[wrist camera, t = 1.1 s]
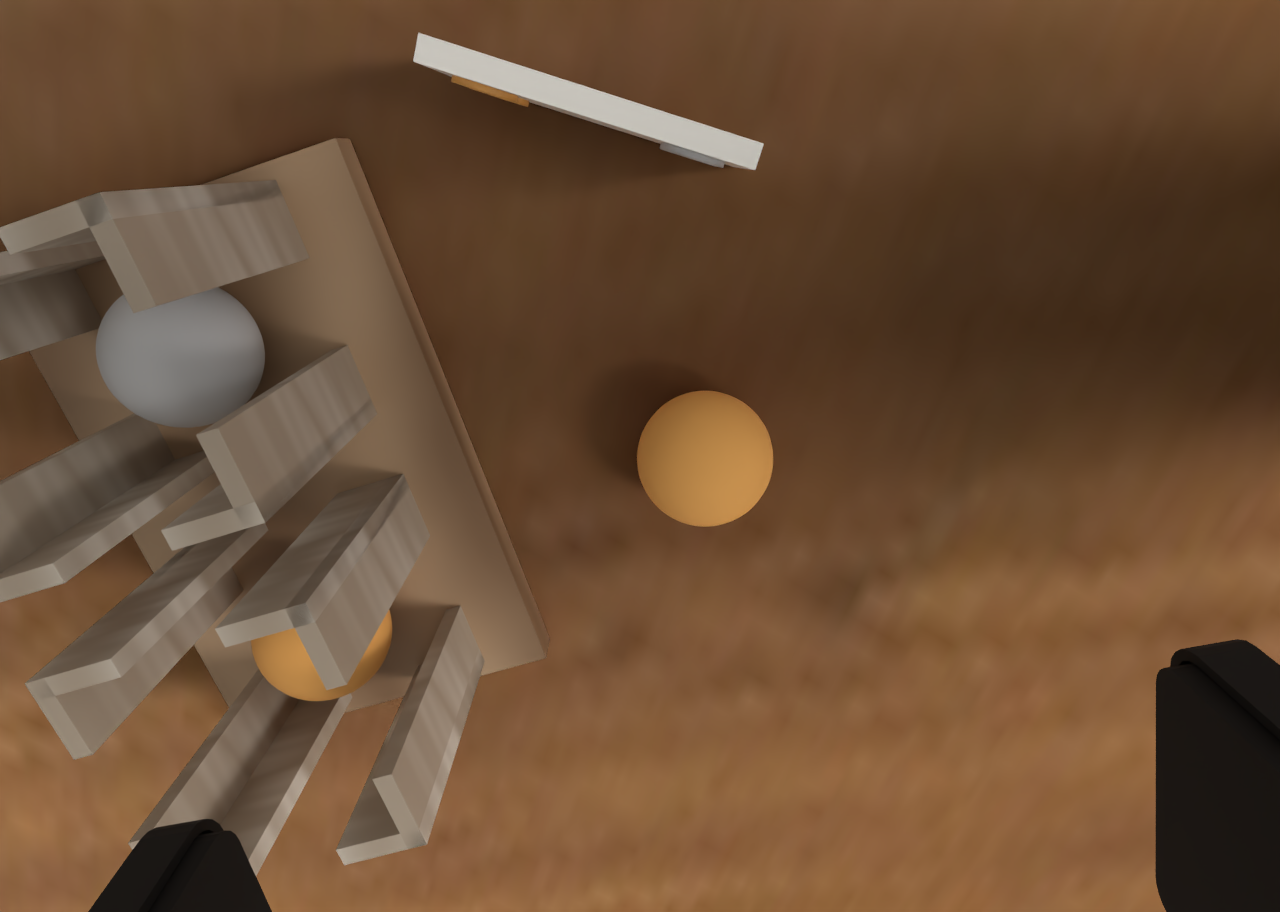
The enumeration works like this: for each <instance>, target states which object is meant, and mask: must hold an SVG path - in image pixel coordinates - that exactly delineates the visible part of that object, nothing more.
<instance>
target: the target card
mask: <svg viewBox="0 0 1280 912" xmlns="http://www.w3.org/2000/svg"><path fill="white" fill-rule="evenodd" d="M413 62H415V63H418V64H420V65H423V66H425V67H428V68H430V69H433V70H436V71H438V72H441V73H443V74H446V75H448V76H451V77H452V79H451V82H453V83H456V84H459V85H462V86H465V87H468V88H469V89H472V90H475V91H478V92H481V93H484V94H487V95H490V96H493V97H496V98H500V99H503V100H506V101H509V102H512V103H515V104H519V105H522V106H525V107H528V105H529V102H530V103H533V104H536V105H540V106H543V107H546V108H549V109H552V110H555V111H558V112H562V113H565V114H568V115H571V116H574V117H577V118H581V119H584V120H587V121H590V122H593V123H596V124H599V125H603V126H606V127H609V128H612V129H615V130H618V131H621V132H625V133H628V134H631V135H634V136H637V137H640V138H643V139H647V140H650V141H653V142H656V143H659V144H661V145H660V148H659V149H661V150H664V151H667V152H670V153H673V154H676V155H679V156H683V157H686V158H689V159H692V160H695V161H698V162H702V163H705V164H708V165H711V166H715V167H721V168H723V167H724V164H725V165H729V166H732V167H736V168H743V169H749V170H755V169H756V166H757V163H758V160H759V157H760V154H761V151H762V148H763V145H764V144H763V143H760V142H757V141H754V140H751V139H748V138H745V137H742V136H738V135H735V134H732V133H729V132H726V131H723V130H720V129H717V128H713V127H710V126H707V125H704V124H701V123H698V122H695V121H692V120H689V119H685V118H682V117H679V116H676V115H673V114H670V113H667V112H664V111H661V110H657V109H654V108H651V107H648V106H645V105H642V104H639V103H636V102H633V101H629V100H626V99H623V98H620V97H617V96H614V95H611V94H608V93H605V92H601V91H598V90H595V89H592V88H589V87H586V86H583V85H580V84H577V83H573V82H570V81H567V80H564V79H561V78H558V77H555V76H552V75H549V74H545V73H542V72H539V71H536V70H533V69H530V68H527V67H524V66H521V65H517V64H514V63H511V62H508V61H505V60H502V59H499V58H496V57H493V56H489V55H486V54H483V53H480V52H477V51H474V50H471V49H468V48H465V47H461V46H458V45H455V44H452V43H449V42H446V41H443V40H440V39H437V38H433V37H430V36H427V35H424V34H421V33H418V38H417V43H416V49H415V54H414V59H413Z"/></svg>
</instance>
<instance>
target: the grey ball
mask: <svg viewBox="0 0 1280 912" xmlns="http://www.w3.org/2000/svg"><path fill="white" fill-rule="evenodd" d="M96 358H97V363H98V367H99V370H100V373H101V376H102V378H103V380H104V382H105V384H106V385H107V387H108V389H109V390H110V391H111V393H112V394H113V395H114V396H115V397H116V398H117V399H118V400H119V402H120V403H122V404H123V405H124V406H125V407H126V408H128V409H129V410H130V411H132V412H133V413H135V414H136V415H138V416H140V417H142V418H144V419H146V420H149V421H151V422H154V423H157V424H161V425H165V426H170V427H184V428H191V427H200V426H205V425H209V424H213V423H216V422H217V421H219V420H221V419H222V418H224V417H225V416H227V415H229V414H230V413H232V412H233V411H235V410H237V409H238V408H240V407H241V406H243V405H245V404H246V403H247V402H248V400H249V399H250V398H251V397H252V395H253V394H254V392H255V391H256V389H257V387H258V385H259V383H260V381H261V378H262V374H263V370H264V364H265V349H264V343H263V339H262V336H261V333H260V331H259V328H258V326H257V324H256V322H255V320H254V319H253V317H252V316H251V314H250V313H249V312H248V311H247V309H246V308H245V307H244V306H243V305H242V304H241V303H240V302H239V301H238V300H237V299H236V298H234V297H233V296H232V295H230V294H229V293H227V292H226V291H224V290H222V289H220V288H218V287H217V288H213V289H210V290H207V291H204V292H201V293H197V294H194V295H191V296H188V297H185V298H181V299H178V300H175V301H172V302H169V303H165V304H162V305H159V306H156V307H152V308H149V309H146V310H143V311H140V312H136V313H133V311H132V309H131V307H130V306H129V304H128V302H127V300H126V298H125V296H124V294H123V295H122V296H121V297H120V298H118V299H117V300H116V301H115V302H114V303H113V305H112V306H111V307H110V308H109V309H108V311H107V312H106V314H105V316H104V317H103V319H102V321H101V324H100V326H99V330H98V334H97V338H96Z"/></svg>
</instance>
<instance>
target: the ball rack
mask: <svg viewBox="0 0 1280 912" xmlns="http://www.w3.org/2000/svg"><path fill="white" fill-rule="evenodd" d="M0 238H1V239H2V241H3V243H4V245H5V247H6V248H7V250H8V251H4V252H0V360H2V359H6V358H9V357H12V356H15V355H18V354H21V353H24V352H27V351H29V352H30V354H31V356H32V358H33V359H34V361H35V363H36V365H37V366H38V368H39V370H40V372H41V374H42V375H43V377H44V379H45V381H46V382H47V384H48V386H49V388H50V390H51V391H52V393H53V395H54V397H55V399H56V400H57V402H58V404H59V406H60V407H61V409H62V411H63V413H64V415H65V416H66V418H67V420H68V422H69V423H70V425H71V427H72V429H73V431H74V432H75V434H76V436H77V438H78V439H79V441H78V442H76V443H74V444H72V445H70V446H68V447H66V448H64V449H62V450H60V451H59V452H57V453H55V454H53V455H51V456H49V457H47V458H45V459H43V460H41V461H39V462H37V463H35V464H33V465H31V466H29V467H27V468H25V469H23V470H21V471H19V472H17V473H15V474H13V475H11V476H9V477H7V478H5V479H3V480H1V481H0V602H3V601H7V600H10V599H13V598H17V597H20V596H23V595H27V594H30V593H33V592H37V591H40V590H43V589H47V588H50V587H53V586H57V585H60V584H63V583H66V582H67V581H68V580H70V579H71V578H72V577H74V576H75V575H76V574H78V573H79V572H80V571H82V570H83V569H84V568H86V567H87V566H89V565H90V564H91V563H93V562H94V561H95V560H97V559H98V558H99V557H101V556H102V555H103V554H105V553H106V552H107V551H109V550H110V549H111V548H113V547H114V546H116V545H117V544H118V543H120V542H121V541H122V540H124V539H125V538H126V537H128V536H129V535H130V534H132V536H133V537H134V539H135V541H136V543H137V545H138V546H139V548H140V550H141V552H142V553H143V555H144V557H145V559H146V561H147V562H148V564H149V566H150V568H151V570H152V571H153V573H154V574H152V575H151V576H150V577H149V578H148V579H147V580H145V581H144V582H143V583H142V584H141V585H139V586H138V587H137V588H136V589H135V590H134V591H132V592H131V593H130V594H129V595H128V596H127V597H125V598H124V599H123V600H122V601H121V602H120V603H118V604H117V605H116V606H115V607H114V608H113V609H111V610H110V611H109V612H108V613H107V614H106V615H104V616H103V617H102V618H101V619H100V620H98V621H97V622H96V623H95V624H94V625H93V626H91V627H90V628H89V629H88V630H87V631H86V632H84V633H83V634H82V635H81V636H80V637H79V638H77V639H76V640H75V641H74V642H73V643H72V644H70V645H69V646H68V647H67V648H66V649H65V650H63V651H62V652H61V653H60V654H59V655H58V656H56V657H55V658H54V659H53V660H52V661H50V662H49V663H48V664H47V665H46V666H45V667H43V668H42V669H41V670H40V671H39V672H38V673H36V674H35V675H34V676H33V677H32V678H31V679H29V680H28V681H27V682H26V683H25V685H26V687H27V688H28V690H29V691H30V693H31V694H32V696H33V697H34V699H35V700H36V702H37V704H38V705H39V707H40V708H41V710H42V711H43V713H44V714H45V716H46V717H47V719H48V721H49V722H50V724H51V725H52V727H53V728H54V730H55V731H56V733H57V734H58V736H59V737H60V739H61V741H62V742H63V744H64V745H65V747H66V748H67V750H68V751H69V753H70V754H71V756H72V758H73V759H74V760H75V759H78V758H82V757H86V756H89V755H93V754H94V753H95V752H96V751H97V749H98V748H99V747H100V746H101V745H102V744H103V743H104V742H105V741H106V740H107V739H108V737H109V736H110V735H111V734H112V733H113V732H114V731H115V730H116V729H117V728H118V727H119V725H120V724H121V723H122V722H123V721H124V720H125V719H126V718H127V717H128V716H129V715H130V714H131V712H132V711H133V710H134V709H135V708H136V707H137V706H138V705H139V704H140V703H141V702H142V700H143V699H144V698H145V697H146V696H147V695H148V694H149V693H150V692H151V691H152V690H153V688H154V687H155V686H156V685H157V684H158V683H159V682H160V681H161V680H162V679H163V678H164V677H165V675H166V674H167V673H168V672H169V671H170V670H171V669H172V668H173V667H174V666H175V665H176V663H177V662H178V661H179V660H180V659H181V658H182V657H183V656H184V655H185V654H186V653H187V651H188V650H189V649H190V648H191V647H192V646H193V645H194V646H195V648H196V650H197V651H198V653H199V655H200V657H201V659H202V660H203V662H204V664H205V666H206V667H207V669H208V671H209V673H210V675H211V676H212V678H213V680H214V682H215V684H216V685H217V687H218V689H219V691H220V692H221V694H222V696H223V698H224V700H225V701H226V703H227V705H228V707H229V709H228V711H227V712H226V713H225V715H224V716H223V717H222V719H221V720H220V721H219V723H218V724H217V725H216V727H215V728H214V729H213V731H212V732H211V733H210V735H209V736H208V737H207V739H206V740H205V741H204V743H203V744H202V745H201V747H200V748H199V749H198V751H197V752H196V753H195V755H194V756H193V757H192V759H191V760H190V761H189V763H188V764H187V765H186V767H185V768H184V769H183V771H182V772H181V773H180V775H179V776H178V777H177V779H176V780H175V781H174V783H173V784H172V785H171V787H170V788H169V789H168V791H167V792H166V793H165V795H164V796H163V797H162V799H161V800H160V801H159V803H158V804H157V805H156V807H155V808H154V809H153V811H152V812H151V813H150V815H149V816H148V817H147V819H146V820H145V821H144V823H143V824H142V825H141V827H140V828H139V829H138V831H137V832H136V833H135V835H134V836H133V837H132V839H131V840H130V841H129V843H128V844H129V845H130V847H131V848H132V850H133V849H134V847H135V846H136V845H137V843H138V842H139V840H140V839H141V838H142V837H143V836H144V835H145V834H146V833H147V832H148V831H150V830H152V829H154V828H156V827H161V826H167V825H173V824H179V823H184V822H190V821H196V820H202V819H213V820H215V821H216V822H218V823H219V824H220V825H221V827H222V828H223V830H224V831H225V830H226V831H232V832H233V833H235V834H236V836H237V837H238V839H239V840H240V842H241V845H242V847H243V849H244V851H245V854H246V856H247V858H248V860H249V862H250V865H251V867H252V869H253V871H254V873H255V876H257V874H258V872H259V870H260V868H261V866H262V864H263V863H264V861H265V859H266V857H267V855H268V853H269V851H270V850H271V848H272V846H273V844H274V842H275V840H276V838H277V836H278V835H279V833H280V831H281V829H282V827H283V825H284V823H285V822H286V820H287V818H288V816H289V814H290V812H291V810H292V809H293V807H294V805H295V803H296V801H297V799H298V797H299V796H300V794H301V792H302V790H303V788H304V786H305V784H306V783H307V781H308V779H309V777H310V775H311V773H312V771H313V770H314V768H315V766H316V764H317V762H318V760H319V758H320V757H321V755H322V753H323V751H324V749H325V747H326V745H327V744H328V742H329V740H330V738H331V736H332V734H333V732H334V731H335V729H336V727H337V725H338V723H339V721H340V719H341V718H342V716H343V714H344V713H346V712H350V711H353V710H357V709H361V708H364V707H368V706H372V705H375V704H379V703H383V702H386V701H390V700H394V699H398V698H401V697H404V698H403V700H402V702H401V705H400V707H399V709H398V711H397V714H396V716H395V718H394V720H393V723H392V725H391V727H390V729H389V732H388V734H387V736H386V738H385V741H384V743H383V745H382V747H381V750H380V752H379V754H378V757H377V759H376V761H375V763H374V766H373V768H372V770H371V772H370V775H369V777H368V779H367V781H366V784H365V786H364V788H363V790H362V793H361V795H360V797H359V799H358V802H357V804H356V806H355V808H354V811H353V813H352V815H351V817H350V820H349V822H348V824H347V826H346V829H345V831H344V833H343V835H342V838H341V840H340V842H339V844H338V847H337V849H336V851H337V853H338V854H339V856H340V858H341V860H342V862H343V863H344V865H347V864H351V863H355V862H359V861H363V860H367V859H371V858H375V857H379V856H383V855H387V854H391V853H395V852H399V851H403V850H407V849H411V848H415V847H419V846H423V845H427V842H428V839H429V836H430V833H431V830H432V827H433V823H434V820H435V817H436V814H437V811H438V808H439V804H440V801H441V798H442V795H443V792H444V789H445V785H446V782H447V779H448V776H449V773H450V770H451V766H452V763H453V760H454V757H455V754H456V751H457V747H458V744H459V741H460V738H461V735H462V732H463V728H464V725H465V722H466V719H467V716H468V713H469V709H470V706H471V703H472V700H473V697H474V694H475V690H476V687H477V684H478V681H479V678H480V676H482V675H486V674H490V673H493V672H497V671H501V670H504V669H508V668H512V667H515V666H519V665H523V664H526V663H530V662H534V661H538V660H541V659H545V658H546V657H547V652H548V647H549V642H550V637H549V635H548V632H547V630H546V627H545V625H544V622H543V620H542V617H541V615H540V612H539V610H538V607H537V605H536V602H535V600H534V597H533V595H532V592H531V590H530V587H529V585H528V582H527V580H526V577H525V575H524V572H523V570H522V567H521V565H520V562H519V560H518V557H517V555H516V552H515V550H514V547H513V545H512V542H511V540H510V537H509V535H508V532H507V530H506V527H505V525H504V522H503V520H502V517H501V515H500V512H499V510H498V507H497V505H496V502H495V500H494V497H493V495H492V492H491V490H490V488H489V485H488V483H487V480H486V478H485V475H484V473H483V470H482V468H481V465H480V463H479V460H478V458H477V455H476V453H475V450H474V448H473V445H472V443H471V440H470V438H469V435H468V433H467V430H466V428H465V425H464V423H463V420H462V418H461V415H460V413H459V410H458V408H457V405H456V403H455V400H454V398H453V395H452V393H451V390H450V388H449V385H448V383H447V380H446V378H445V375H444V373H443V370H442V368H441V365H440V363H439V360H438V358H437V355H436V353H435V350H434V348H433V345H432V343H431V340H430V338H429V335H428V333H427V330H426V328H425V325H424V323H423V320H422V318H421V315H420V313H419V310H418V308H417V305H416V303H415V300H414V298H413V295H412V293H411V290H410V288H409V285H408V283H407V280H406V278H405V275H404V273H403V270H402V268H401V265H400V263H399V260H398V258H397V255H396V253H395V250H394V248H393V245H392V243H391V240H390V238H389V235H388V233H387V230H386V228H385V225H384V223H383V220H382V218H381V215H380V213H379V210H378V208H377V205H376V203H375V200H374V198H373V195H372V193H371V190H370V188H369V185H368V183H367V180H366V178H365V175H364V173H363V170H362V168H361V165H360V163H359V160H358V158H357V155H356V153H355V150H354V148H353V145H352V143H351V140H350V139H347V138H334V139H331V140H328V141H325V142H322V143H319V144H316V145H313V146H311V147H308V148H305V149H302V150H299V151H296V152H293V153H291V154H288V155H285V156H282V157H279V158H276V159H273V160H270V161H268V162H265V163H262V164H259V165H256V166H253V167H250V168H248V169H245V170H242V171H239V172H236V173H233V174H230V175H227V176H225V177H222V178H219V179H216V180H213V181H210V182H207V183H205V184H202V185H195V186H181V187H167V188H152V189H138V190H124V191H110V192H99V193H96V194H93V195H90V196H87V197H85V198H82V199H79V200H76V201H73V202H70V203H68V204H65V205H62V206H59V207H56V208H53V209H51V210H48V211H45V212H42V213H39V214H36V215H34V216H31V217H28V218H25V219H22V220H19V221H17V222H14V223H11V224H8V225H5V226H2V227H0ZM217 287H218V288H220V289H222V290H224V291H226V292H227V293H229V294H230V295H232V296H233V297H234V298H236V299H237V300H238V301H239V302H240V303H241V304H242V305H243V306H244V307H245V308H246V309H247V311H248V312H249V313H250V314H251V316H252V317H253V319H254V320H255V322H256V324H257V326H258V328H259V331H260V333H261V336H262V339H263V343H264V349H265V364H264V370H263V374H262V378H261V381H260V383H259V385H258V387H257V389H256V391H255V392H254V394H253V395H252V397H251V398H250V399H249V400H248V402H247V403H246V404H245V405H243V406H241V407H240V408H238V409H237V410H235V411H233V412H232V413H230V414H229V415H227V416H225V417H224V418H222V419H221V420H219V421H217V422H216V423H213V424H209V425H205V426H200V427H191V428H184V427H170V426H165V425H161V424H157V423H154V422H151V421H149V420H146V419H144V418H142V417H140V416H138V415H136V414H135V413H133V412H132V411H130V410H129V409H128V408H126V407H125V406H124V405H123V404H122V403H120V402H119V400H118V399H117V398H116V397H115V396H114V395H113V394H112V393H111V391H110V390H109V389H108V387H107V385H106V384H105V382H104V380H103V378H102V376H101V373H100V370H99V367H98V363H97V358H96V338H97V334H98V330H99V326H100V324H101V321H102V319H103V317H104V316H105V314H106V312H107V311H108V309H109V308H110V307H111V306H112V305H113V303H114V302H115V301H116V300H117V299H118V298H120V297H121V296H122V295H123V294H124V296H125V298H126V300H127V302H128V304H129V306H130V307H131V309H132V311H133V313H136V312H140V311H143V310H146V309H149V308H152V307H156V306H159V305H162V304H165V303H169V302H172V301H175V300H178V299H181V298H185V297H188V296H191V295H194V294H197V293H201V292H204V291H207V290H210V289H213V288H217ZM388 610H390V614H391V619H392V638H391V644H390V648H389V650H388V653H387V655H386V658H385V660H384V662H383V663H382V665H381V667H380V668H379V670H378V671H377V672H376V673H375V675H374V676H373V677H372V678H371V679H370V680H369V681H368V682H367V683H365V684H364V685H363V686H361V687H360V688H358V689H357V690H355V691H354V692H352V693H350V694H348V695H345V696H342V697H339V698H337V699H332V700H326V701H307V700H301V699H297V698H294V697H291V696H289V695H287V694H285V693H283V692H281V691H280V690H278V689H276V688H275V687H274V686H273V685H271V684H270V683H269V682H268V681H267V680H266V678H265V677H264V676H263V675H262V673H261V672H260V670H259V668H258V666H257V664H256V662H255V659H254V656H253V653H252V646H251V640H254V639H257V638H261V637H264V636H268V635H271V634H275V633H278V632H282V631H285V630H289V629H292V628H295V630H296V632H297V634H298V635H299V637H300V639H301V641H302V643H303V645H304V647H305V649H306V651H307V653H308V655H309V657H310V659H311V661H312V663H313V665H314V667H315V669H316V671H317V673H318V675H319V676H320V678H321V680H322V682H323V684H324V686H325V688H326V690H329V689H333V688H337V687H340V686H344V685H347V683H348V682H349V680H350V678H351V676H352V674H353V673H354V671H355V669H356V667H357V666H358V664H359V662H360V660H361V658H362V657H363V655H364V653H365V651H366V650H367V648H368V646H369V644H370V642H371V641H372V639H373V637H374V635H375V634H376V632H377V630H378V628H379V626H380V625H381V623H382V621H383V619H384V617H385V616H386V614H387V612H388Z"/></svg>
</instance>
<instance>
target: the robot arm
mask: <svg viewBox="0 0 1280 912" xmlns="http://www.w3.org/2000/svg"><path fill="white" fill-rule="evenodd" d="M1156 884H1157V888H1158V892H1159V895H1160V898H1161V901H1162V903H1163V906H1164V908H1165V910H1166V912H1280V665H1279V664H1278V663H1276V662H1275V661H1274V660H1272V659H1271V658H1270V657H1269V656H1267V655H1266V654H1265V653H1264V652H1262V651H1261V650H1260V649H1258V648H1257V647H1256V646H1254V645H1253V644H1251V643H1249V642H1247V641H1245V640H1238V639H1237V640H1231V641H1225V642H1220V643H1214V644H1208V645H1202V646H1197V647H1191V648H1185V649H1180V650H1178V651H1176V652H1175V653H1174V655H1173V657H1172V659H1171V665H1170V667H1168V668H1163V669H1161V670H1160V671H1159V672H1158V674H1157V679H1156ZM89 912H272V911H271V909H270V907H269V904H268V902H267V900H266V898H265V896H264V893H263V891H262V889H261V887H260V884H259V882H258V880H257V878H256V876H255V873H254V871H253V869H252V867H251V865H250V862H249V860H248V858H247V856H246V854H245V851H244V849H243V847H242V845H241V842H240V840H239V839H238V837H237V836H236V834H235V833H233V832H232V831H226V830H225V831H224V830H223V828H222V827H221V825H220V824H219V823H218V822H216V821H215V820H213V819H202V820H196V821H190V822H184V823H179V824H173V825H167V826H161V827H156V828H154V829H152V830H150V831H148V832H147V833H146V834H145V835H144V836H143V837H142V838H141V839H140V840H139V842H138V843H137V845H136V846H135V847H134V849H133V850H132V852H131V853H130V854H129V856H128V857H127V859H126V860H125V861H124V863H123V864H122V866H121V867H120V868H119V870H118V871H117V873H116V874H115V875H114V877H113V878H112V880H111V881H110V882H109V884H108V885H107V886H106V888H105V889H104V891H103V892H102V893H101V895H100V896H99V898H98V899H97V900H96V902H95V903H94V905H93V906H92V907H91V909H90V910H89Z"/></svg>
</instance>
